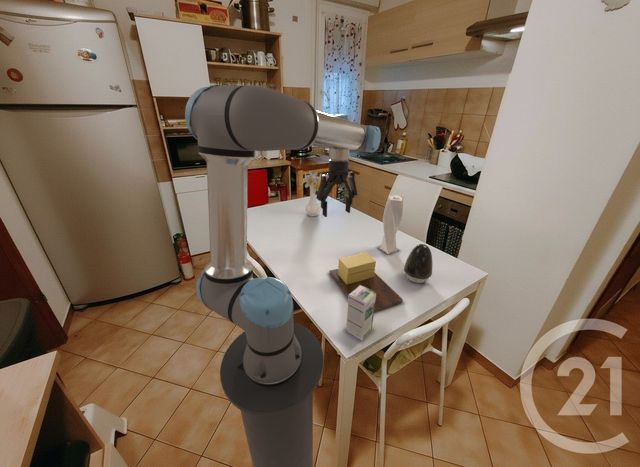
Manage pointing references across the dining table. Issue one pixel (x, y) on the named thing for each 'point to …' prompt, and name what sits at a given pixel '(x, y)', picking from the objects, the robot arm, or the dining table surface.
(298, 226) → the dining table surface
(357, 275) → the butter block
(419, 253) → the dark egg on stand
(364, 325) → the syrup box
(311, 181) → the flower vase
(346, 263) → the butter slice
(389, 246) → the skyscraper
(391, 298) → the walnut board
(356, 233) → the dining table surface
